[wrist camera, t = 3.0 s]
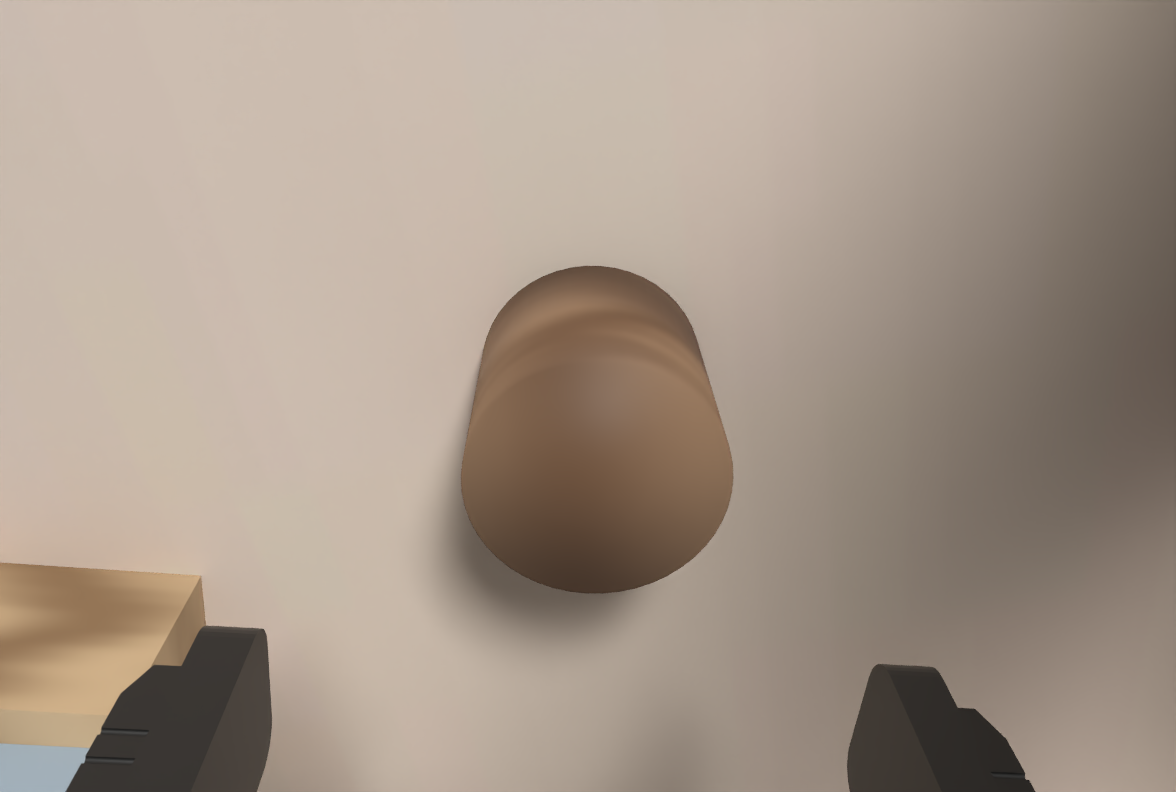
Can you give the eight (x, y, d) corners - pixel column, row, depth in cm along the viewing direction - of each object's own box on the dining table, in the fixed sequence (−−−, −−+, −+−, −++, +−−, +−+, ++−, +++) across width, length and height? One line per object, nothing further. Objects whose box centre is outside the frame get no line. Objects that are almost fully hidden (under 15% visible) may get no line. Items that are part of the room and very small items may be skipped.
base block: (203, 571, 25) (123, 716, 20) (222, 769, 28) (156, 932, 24) (-81, 553, 24) (-226, 696, 20) (-30, 755, 28) (-145, 919, 23)
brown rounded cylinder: (713, 274, 21) (753, 370, 17) (685, 469, 24) (712, 600, 19) (486, 257, 21) (465, 350, 17) (478, 456, 23) (457, 585, 19)
